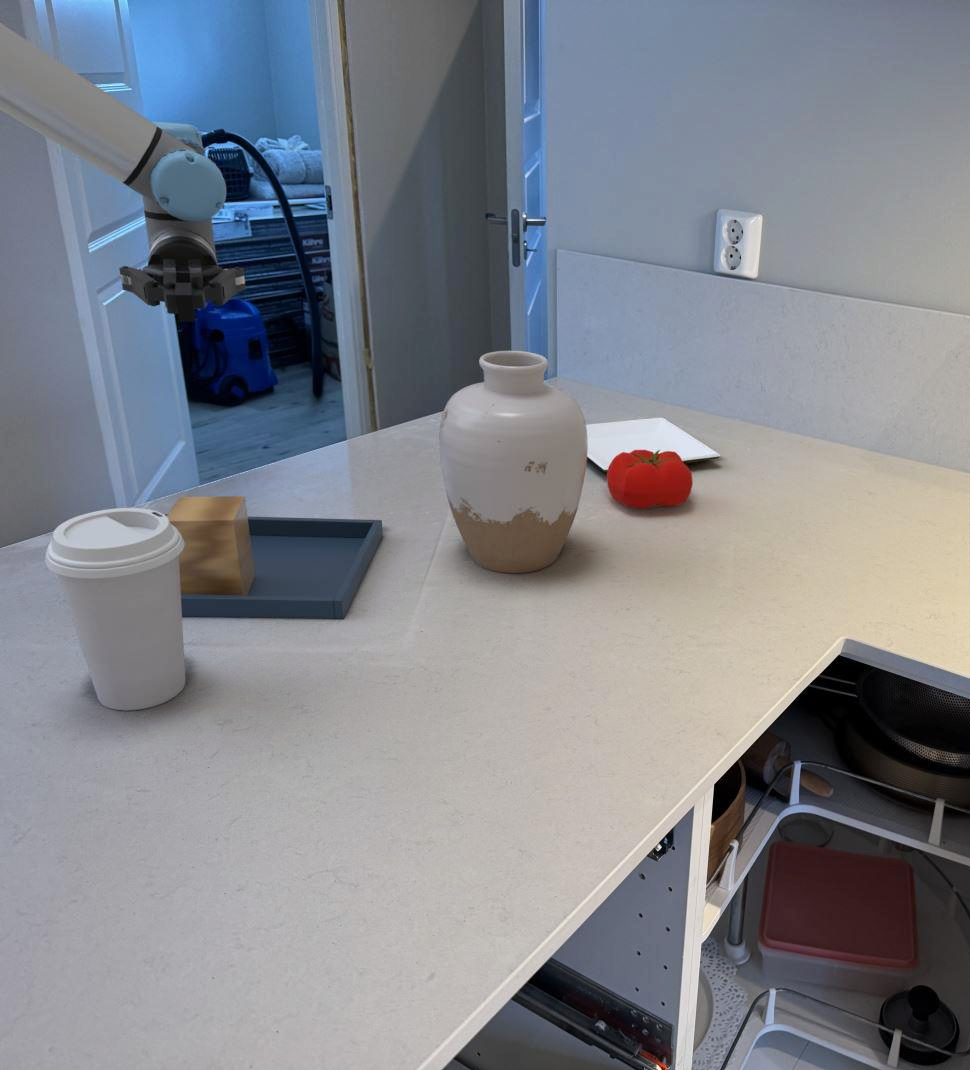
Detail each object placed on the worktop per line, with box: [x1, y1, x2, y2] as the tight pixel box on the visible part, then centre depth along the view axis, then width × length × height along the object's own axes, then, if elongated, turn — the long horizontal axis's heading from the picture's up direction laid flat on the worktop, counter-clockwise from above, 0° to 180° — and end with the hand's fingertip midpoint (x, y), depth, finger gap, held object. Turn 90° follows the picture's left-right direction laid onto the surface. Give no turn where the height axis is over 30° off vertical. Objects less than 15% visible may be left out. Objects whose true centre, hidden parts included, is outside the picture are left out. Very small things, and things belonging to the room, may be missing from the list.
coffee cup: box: [44, 507, 186, 711], centre depth 81 cm, size 10×10×15 cm
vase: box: [438, 350, 588, 574], centre depth 108 cm, size 16×16×23 cm
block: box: [167, 495, 255, 596], centre depth 97 cm, size 6×6×9 cm
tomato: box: [606, 450, 694, 510], centre depth 129 cm, size 10×11×6 cm
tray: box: [163, 513, 384, 620], centre depth 103 cm, size 24×20×2 cm
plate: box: [586, 417, 721, 473], centre depth 147 cm, size 19×19×2 cm
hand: (185, 308), depth 101 cm, fingers closed
